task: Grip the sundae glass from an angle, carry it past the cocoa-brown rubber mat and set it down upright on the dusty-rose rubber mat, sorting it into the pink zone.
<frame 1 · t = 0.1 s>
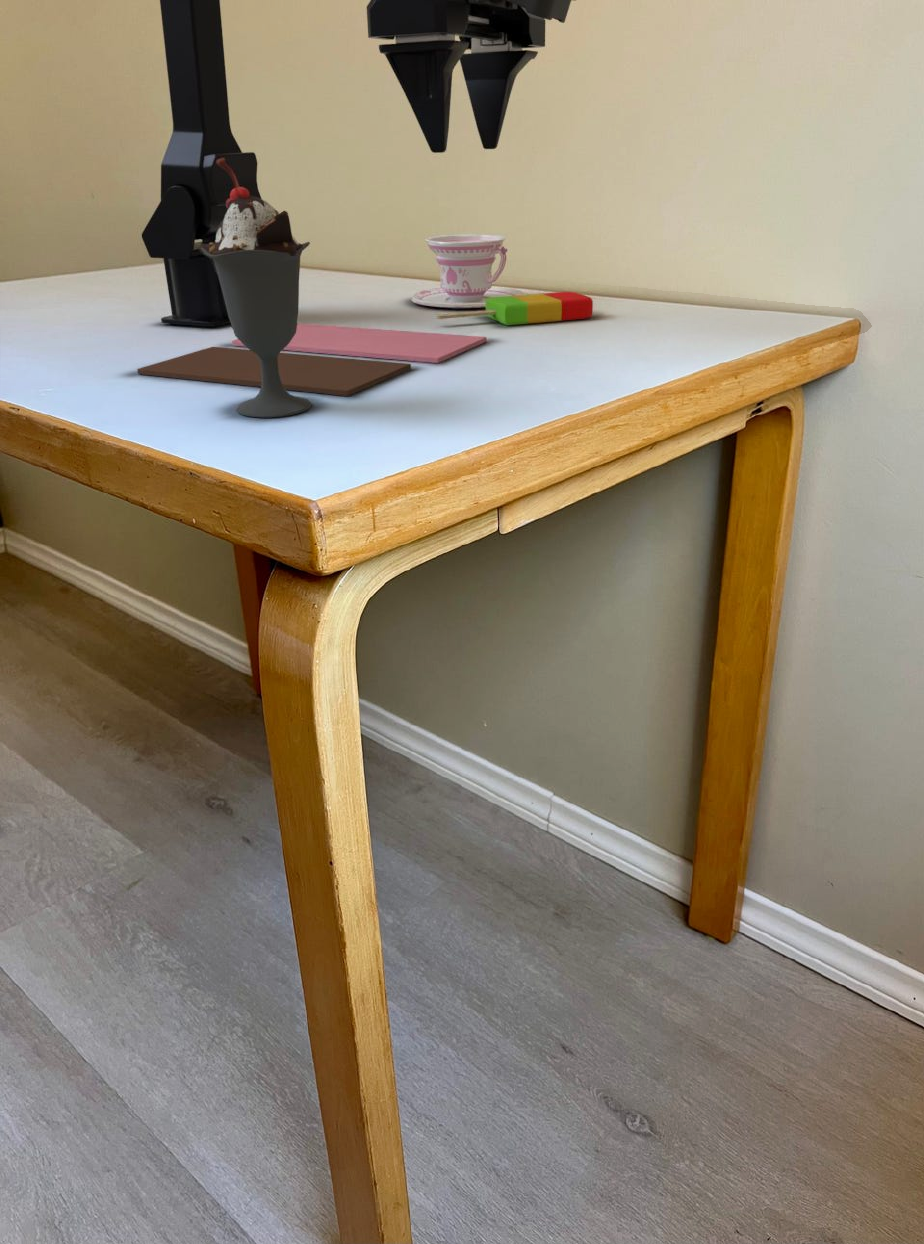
hand: (465, 150, 76), 15 cm above the table, tool pointing down, fingers open, 9 cm apart
popsicle: (512, 322, 91), on the table
pink mat: (358, 343, 83), on the table
teacup: (468, 302, 102), on the table
sundae: (273, 410, 64), on the table
brown mat: (274, 371, 74), on the table
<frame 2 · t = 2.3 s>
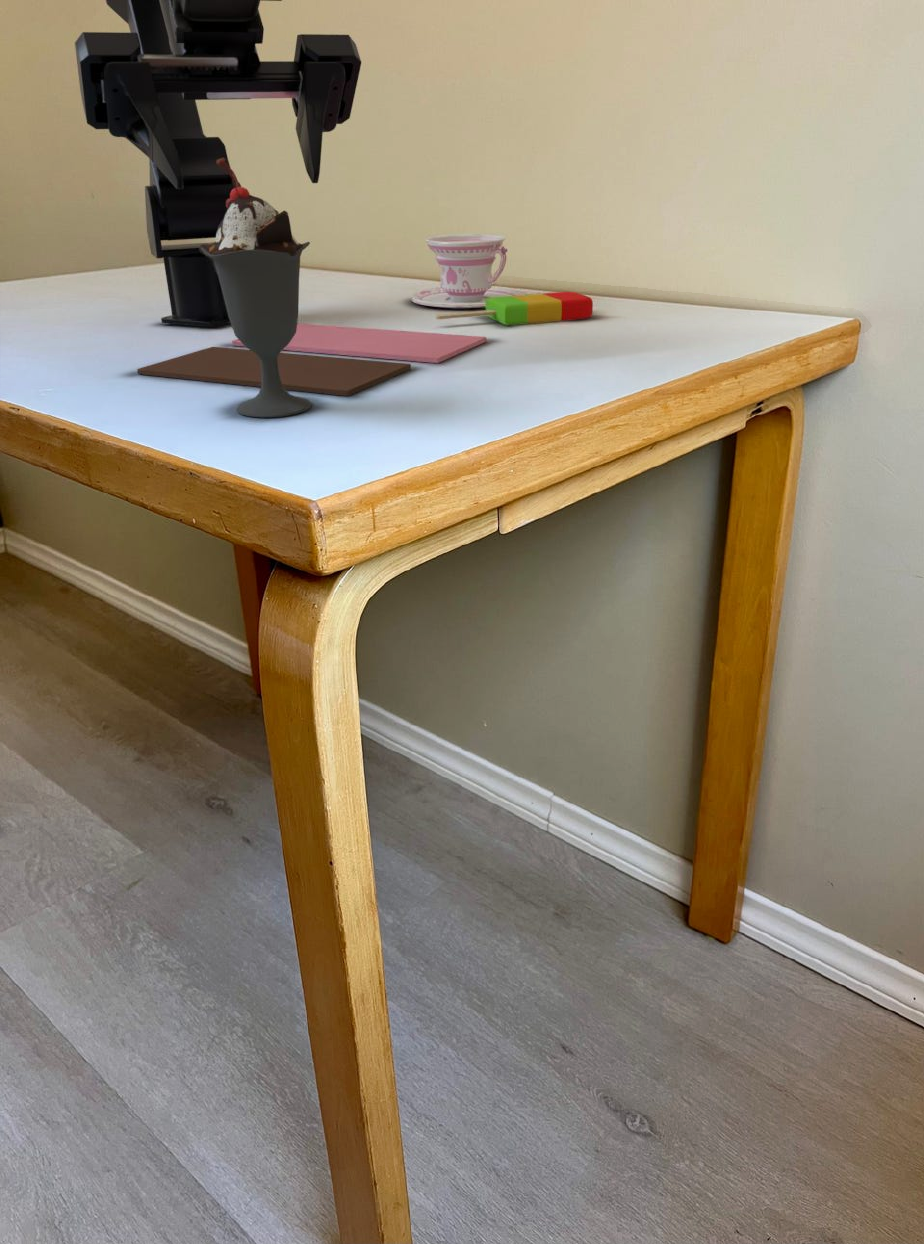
hand: (249, 181, 65), 13 cm above the table, tool tilted 40°, fingers open, 9 cm apart
nothing on the table moved.
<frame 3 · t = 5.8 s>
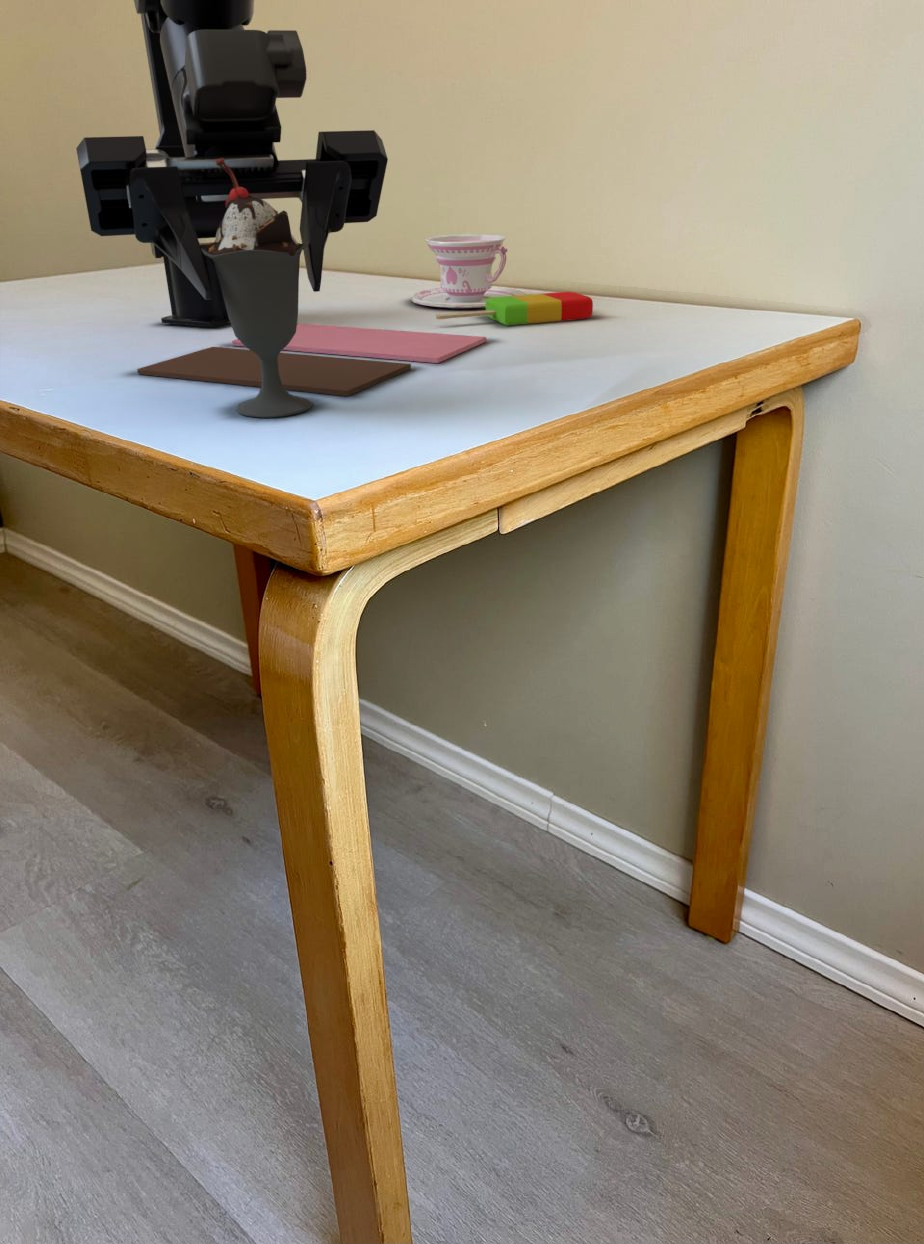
hand: (263, 291, 59), 8 cm above the table, tool tilted 45°, fingers closed on sundae, 6 cm apart
sundae: (273, 410, 64), on the table, touching gripper
everything else where it was.
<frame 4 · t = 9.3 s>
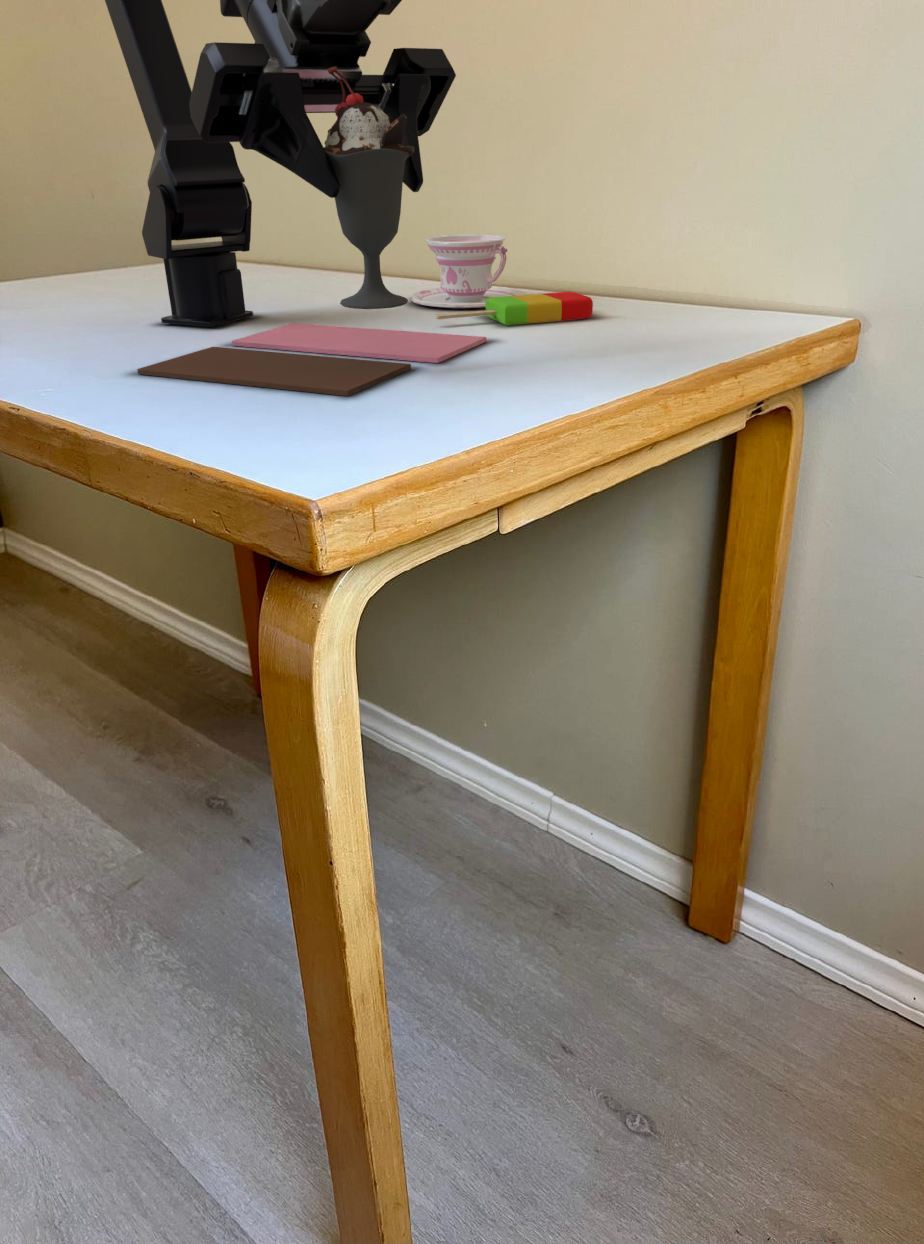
hand: (378, 190, 66), 13 cm above the table, tool tilted 45°, fingers closed on sundae, 6 cm apart
sundae: (373, 305, 70), point 5 cm above the table, touching gripper
everything else where it was.
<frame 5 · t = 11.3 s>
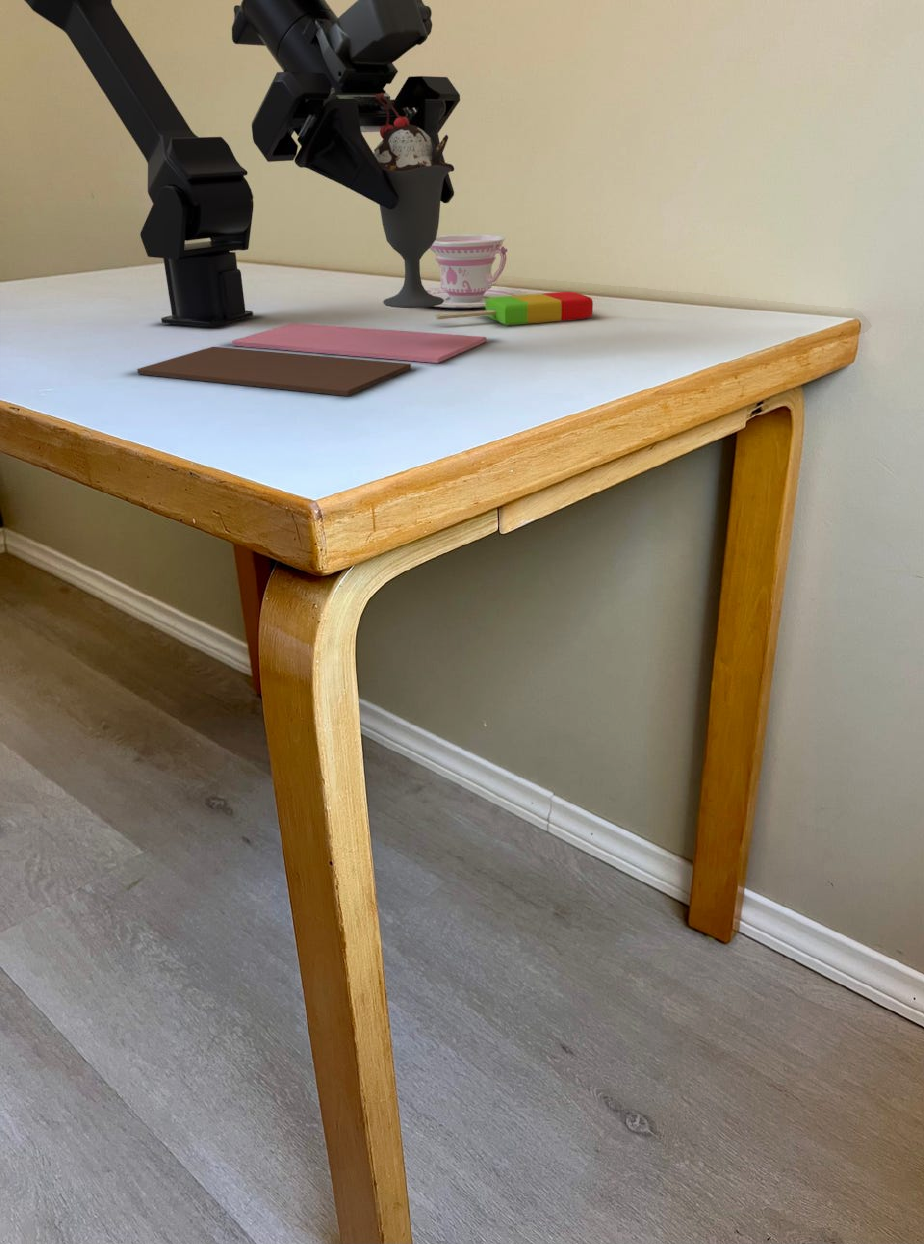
hand: (423, 202, 74), 11 cm above the table, tool tilted 45°, fingers closed on sundae, 6 cm apart
sundae: (413, 305, 79), point 4 cm above the table, touching gripper
everything else where it was.
when the fingers open (8 cm above the table, at t = 12.9 s): sundae stays where it is, resting on pink mat.
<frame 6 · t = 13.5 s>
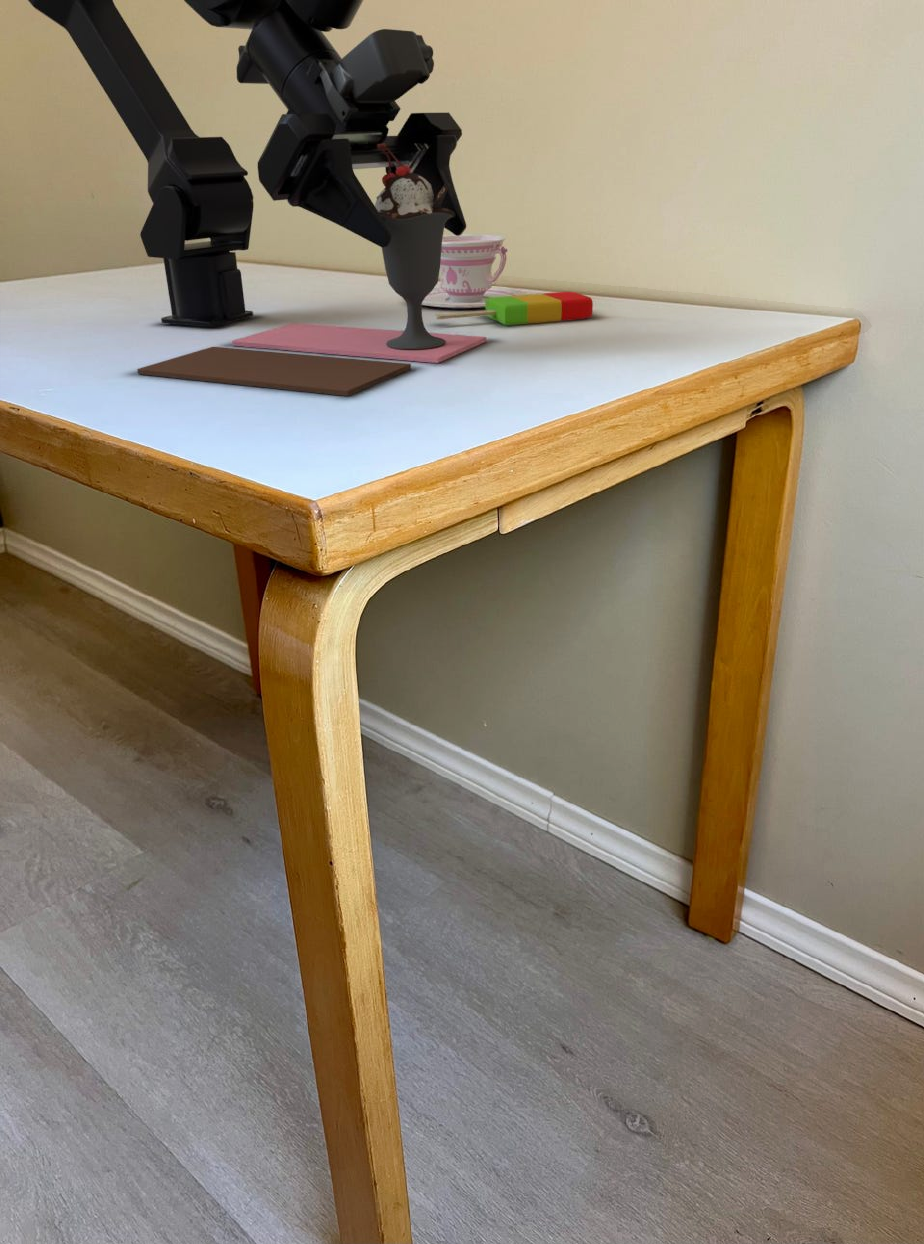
hand: (426, 237, 75), 9 cm above the table, tool tilted 45°, fingers open, 9 cm apart
sundae: (415, 346, 80), resting on pink mat
everything else where it was.
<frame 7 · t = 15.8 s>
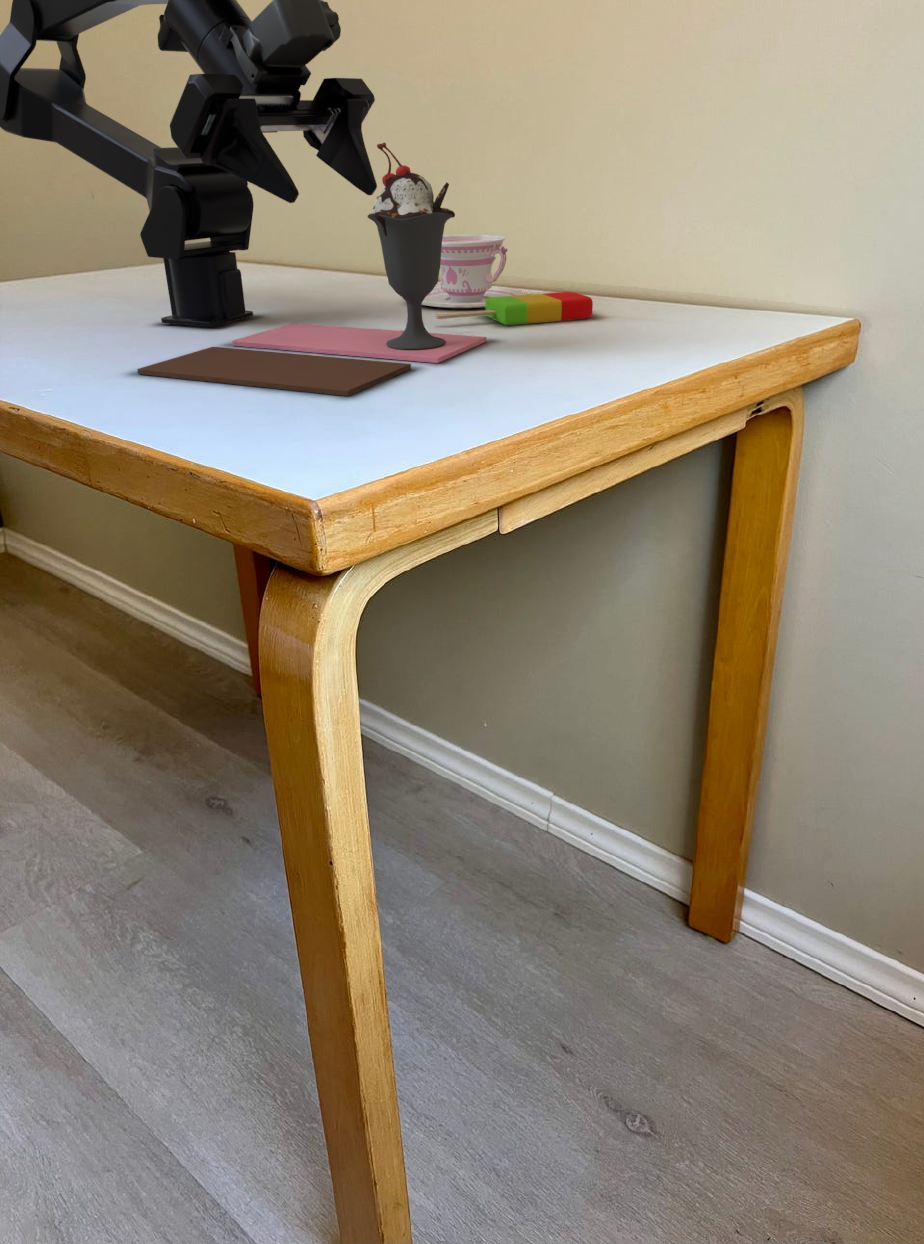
hand: (335, 194, 79), 12 cm above the table, tool tilted 45°, fingers open, 9 cm apart
nothing on the table moved.
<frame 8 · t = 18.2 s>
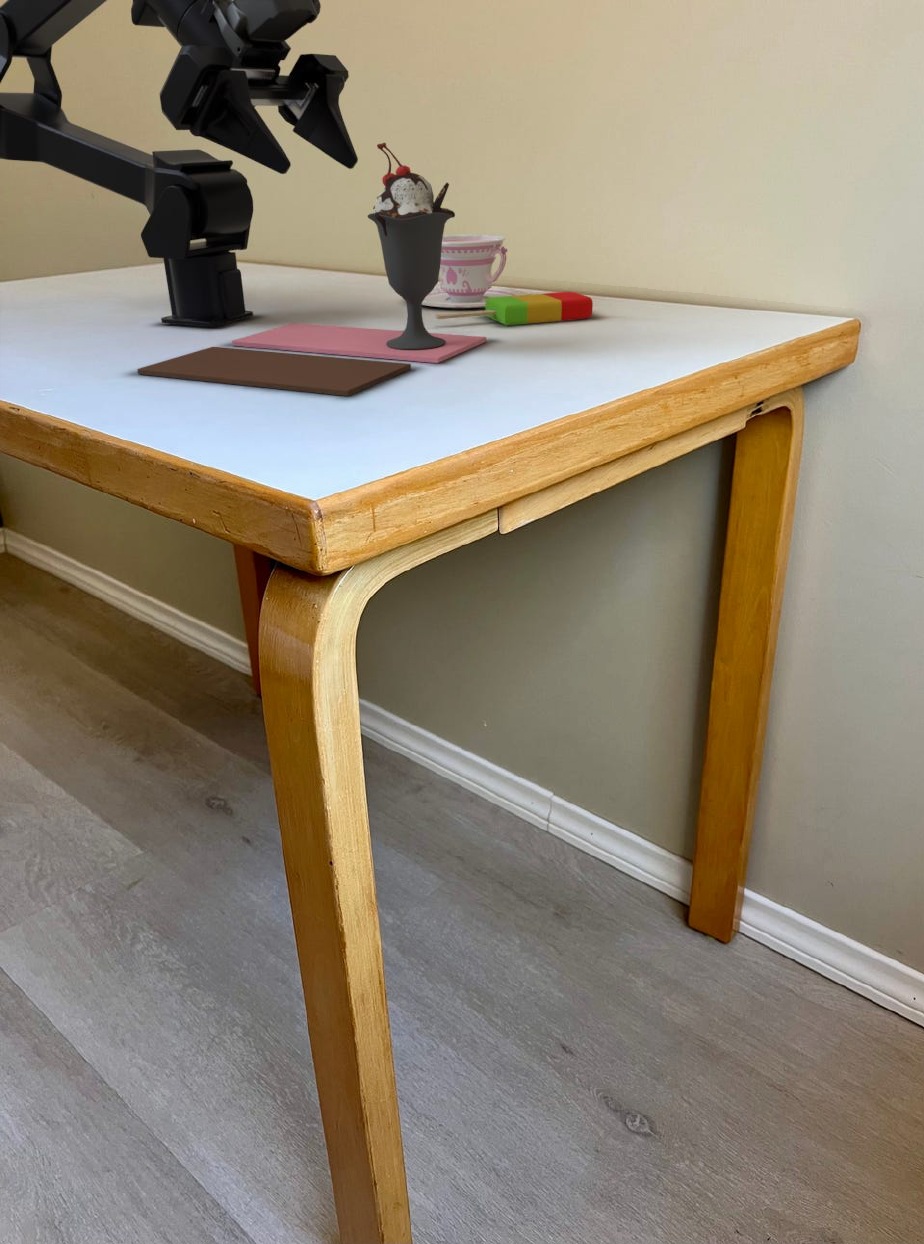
hand: (322, 167, 81), 14 cm above the table, tool tilted 45°, fingers open, 9 cm apart
nothing on the table moved.
at the end: sundae inside the target area on the pink mat (5.8 cm from its centre), point 0.2 cm above the pink mat's base; sundae tilted 0°; sundae touching pink mat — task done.
